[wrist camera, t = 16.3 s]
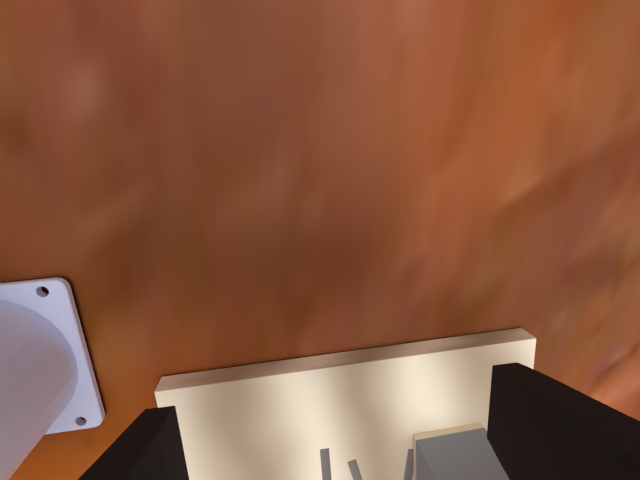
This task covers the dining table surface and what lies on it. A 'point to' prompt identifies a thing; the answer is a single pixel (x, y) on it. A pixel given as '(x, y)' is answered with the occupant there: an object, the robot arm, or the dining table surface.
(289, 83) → the dining table surface
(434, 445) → the block
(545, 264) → the dining table surface
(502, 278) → the dining table surface
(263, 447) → the pine board
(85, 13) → the dining table surface
